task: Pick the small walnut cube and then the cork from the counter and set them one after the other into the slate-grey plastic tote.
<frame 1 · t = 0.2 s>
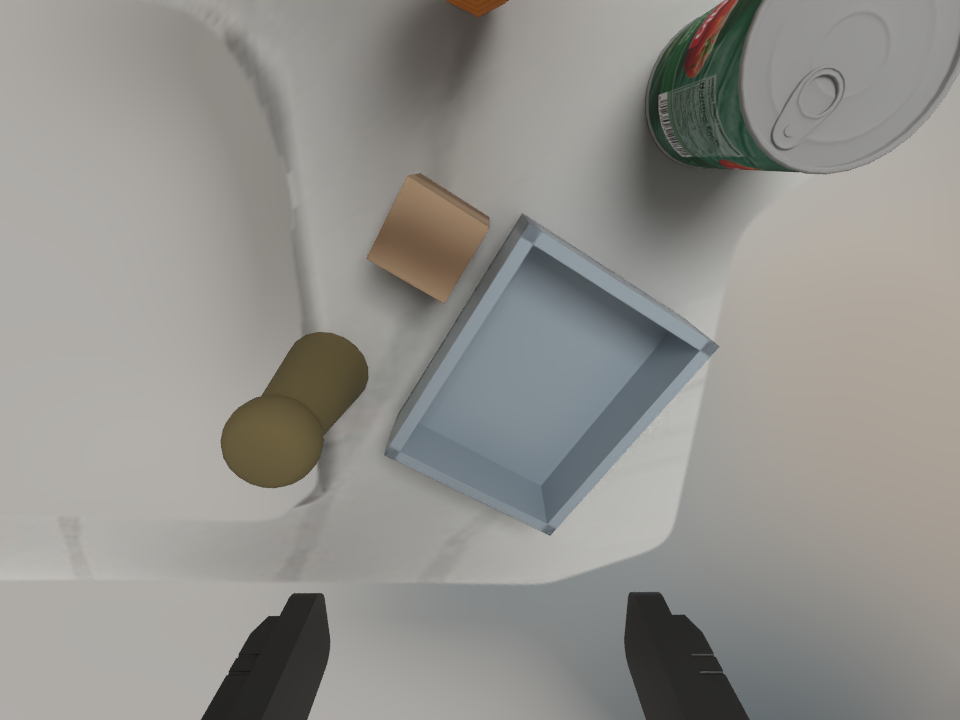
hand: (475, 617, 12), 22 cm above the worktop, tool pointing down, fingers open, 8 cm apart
canned tomato: (712, 94, 26), on the worktop
tote: (533, 370, 33), on the worktop
walnut cube: (436, 230, 29), on the worktop
cork: (328, 369, 34), on the worktop
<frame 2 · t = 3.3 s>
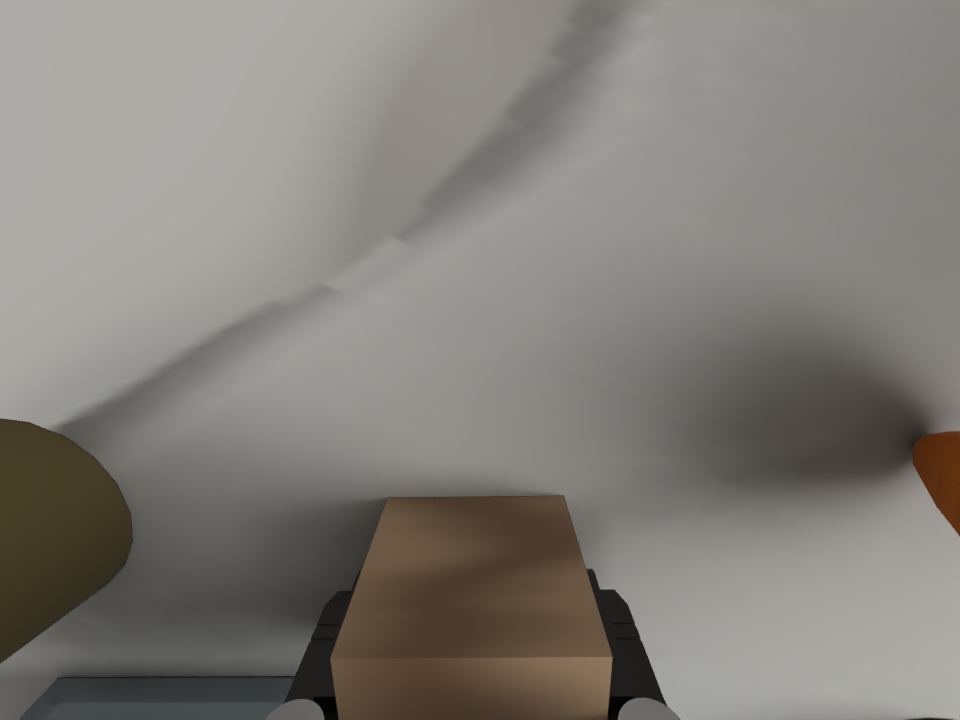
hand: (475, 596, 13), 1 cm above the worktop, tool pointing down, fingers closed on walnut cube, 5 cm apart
carrot: (912, 440, 12), on the worktop
walnut cube: (477, 569, 13), on the worktop, touching gripper
cork: (33, 509, 13), on the worktop
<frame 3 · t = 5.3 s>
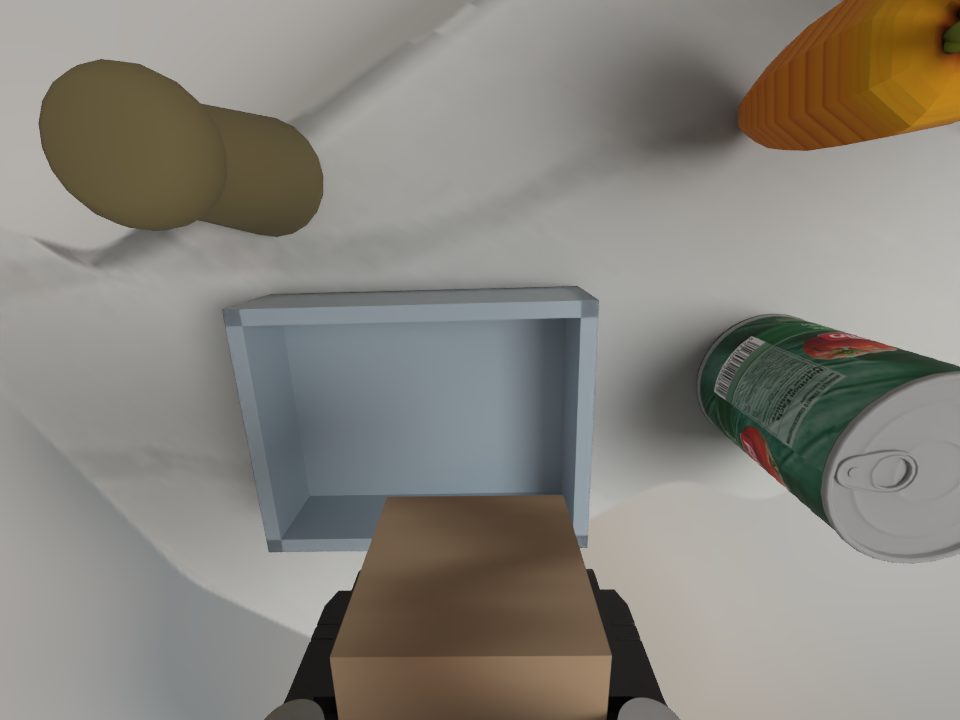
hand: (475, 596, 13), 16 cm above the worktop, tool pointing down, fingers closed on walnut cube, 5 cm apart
canned tomato: (760, 377, 27), on the worktop
carrot: (741, 121, 23), on the worktop
tote: (430, 401, 28), on the worktop
walnut cube: (476, 569, 13), point 15 cm above the worktop, touching gripper
cork: (269, 178, 24), on the worktop
when the fingers open (5 cm above the worktop, at t = 7.7 s): walnut cube drops 3 cm, resting on tote.
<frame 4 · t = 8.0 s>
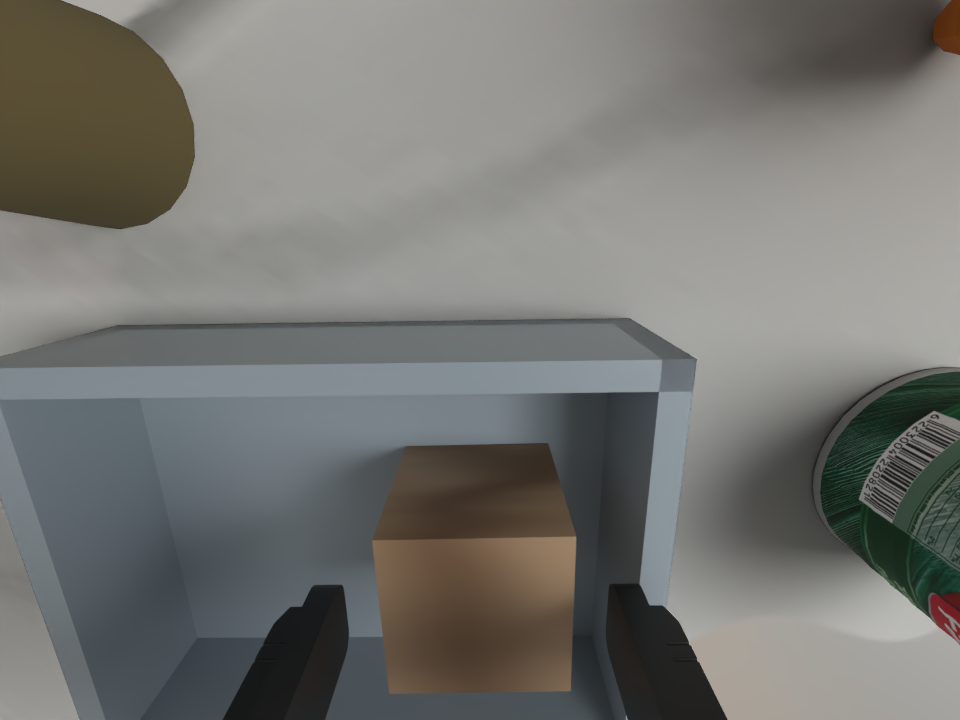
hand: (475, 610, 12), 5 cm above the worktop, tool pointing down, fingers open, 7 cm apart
canned tomato: (912, 464, 17), on the worktop
carrot: (931, 36, 13), on the worktop
tote: (386, 495, 17), on the worktop
walnut cube: (478, 506, 17), point 1 cm above the worktop, touching tote
cork: (100, 127, 14), on the worktop
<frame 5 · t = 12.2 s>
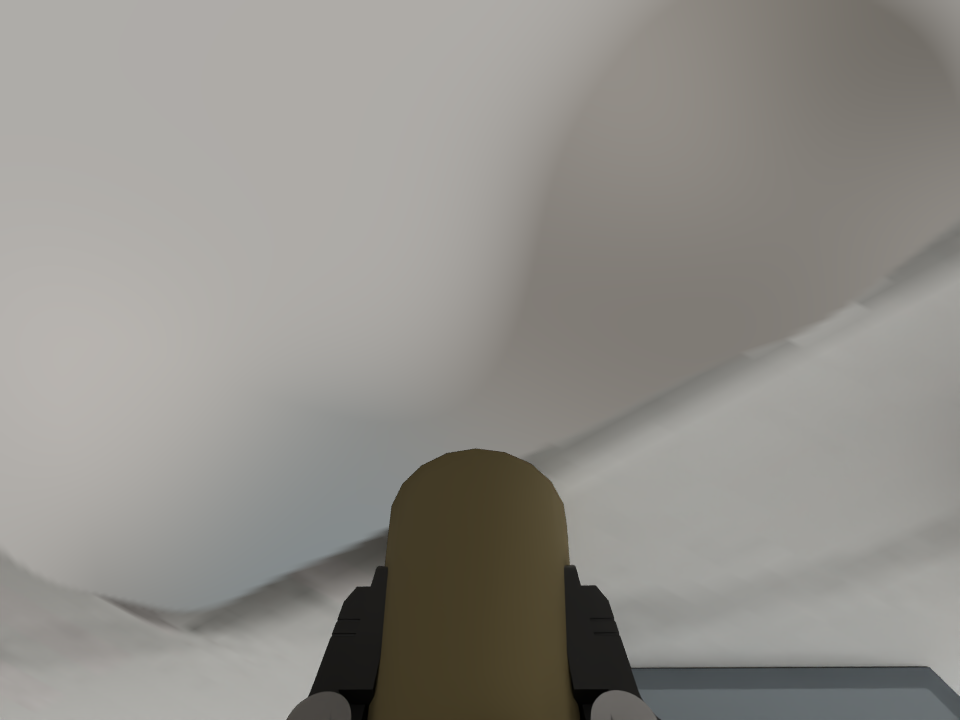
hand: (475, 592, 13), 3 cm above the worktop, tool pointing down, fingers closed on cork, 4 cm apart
cork: (477, 525, 16), on the worktop, touching gripper
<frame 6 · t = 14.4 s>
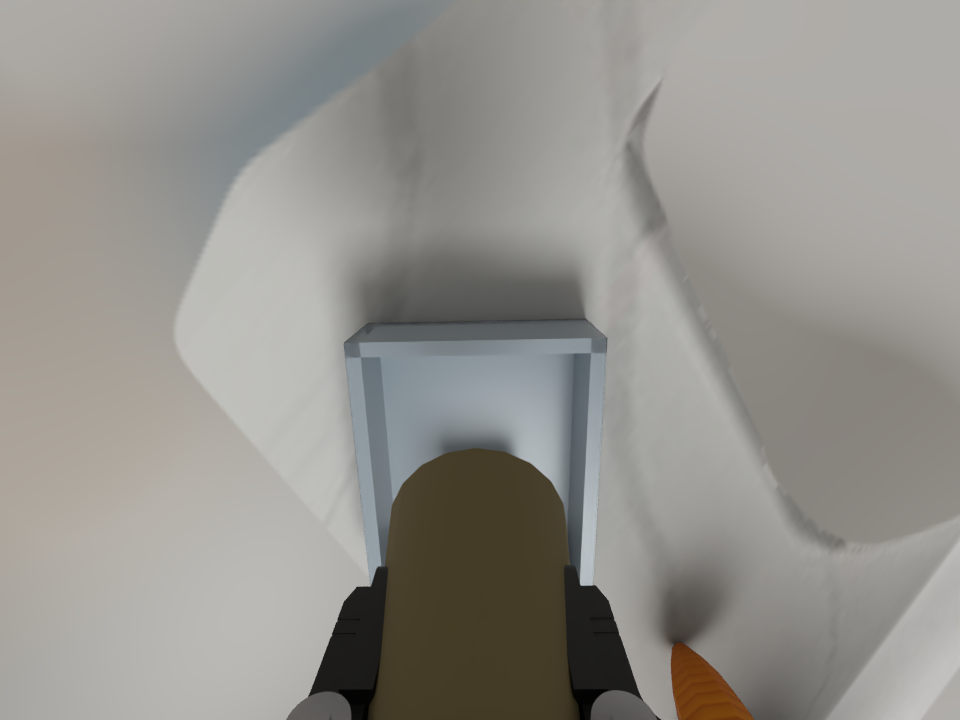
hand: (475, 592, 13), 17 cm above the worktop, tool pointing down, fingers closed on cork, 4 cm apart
carrot: (676, 641, 35), on the worktop
tote: (479, 449, 30), on the worktop
cork: (477, 524, 16), point 14 cm above the worktop, touching gripper
when the fingers open (5 cm above the worktop, at t = 17.0 s): cork drops 1 cm, resting on tote.
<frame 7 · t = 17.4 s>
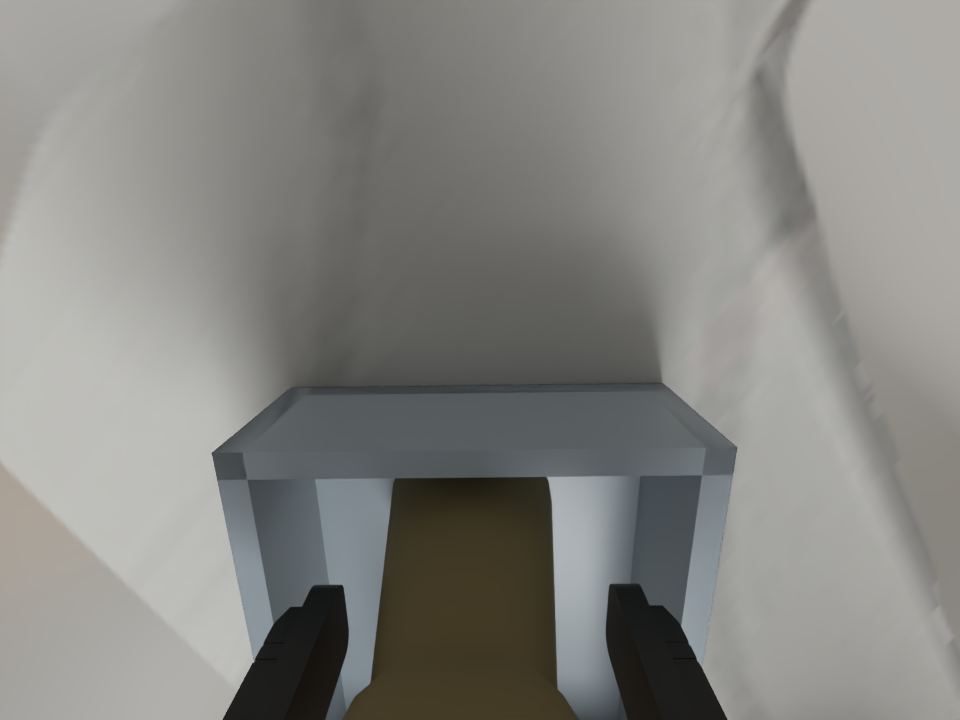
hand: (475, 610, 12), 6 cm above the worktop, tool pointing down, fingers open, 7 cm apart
tote: (479, 583, 19), on the worktop
cork: (471, 501, 17), point 1 cm above the worktop, touching tote
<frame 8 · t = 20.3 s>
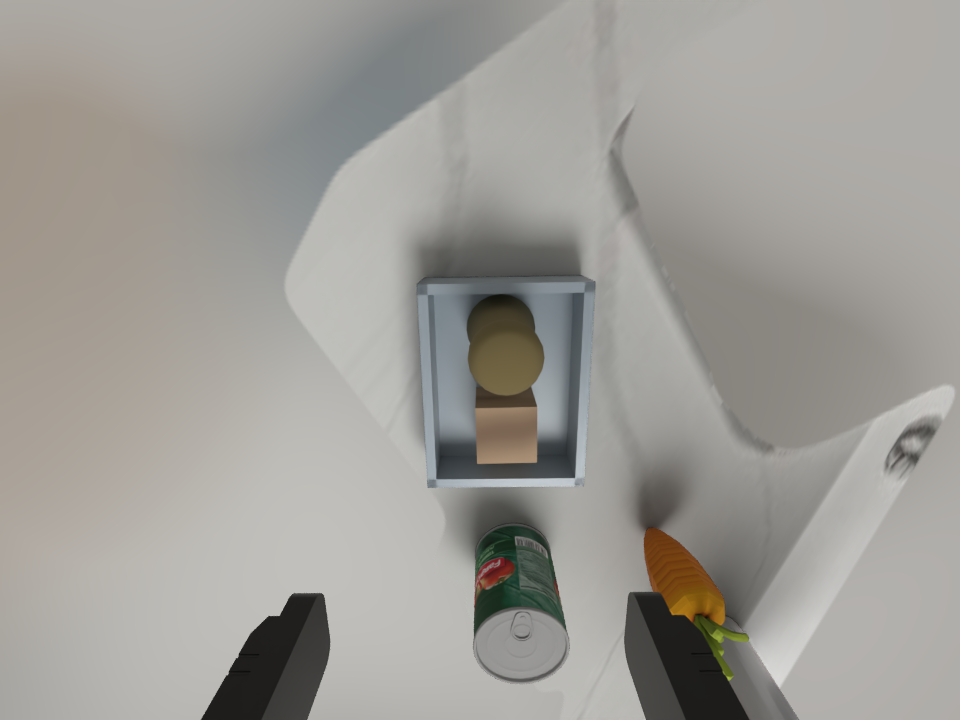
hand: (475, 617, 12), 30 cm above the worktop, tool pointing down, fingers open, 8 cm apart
canned tomato: (512, 553, 47), on the worktop
carrot: (649, 527, 46), on the worktop
tote: (503, 373, 42), on the worktop
walnut cube: (504, 412, 42), point 1 cm above the worktop, touching tote
cork: (500, 328, 40), point 1 cm above the worktop, touching tote
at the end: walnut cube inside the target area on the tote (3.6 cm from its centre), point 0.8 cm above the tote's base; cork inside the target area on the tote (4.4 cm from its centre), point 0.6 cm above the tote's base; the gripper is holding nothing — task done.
